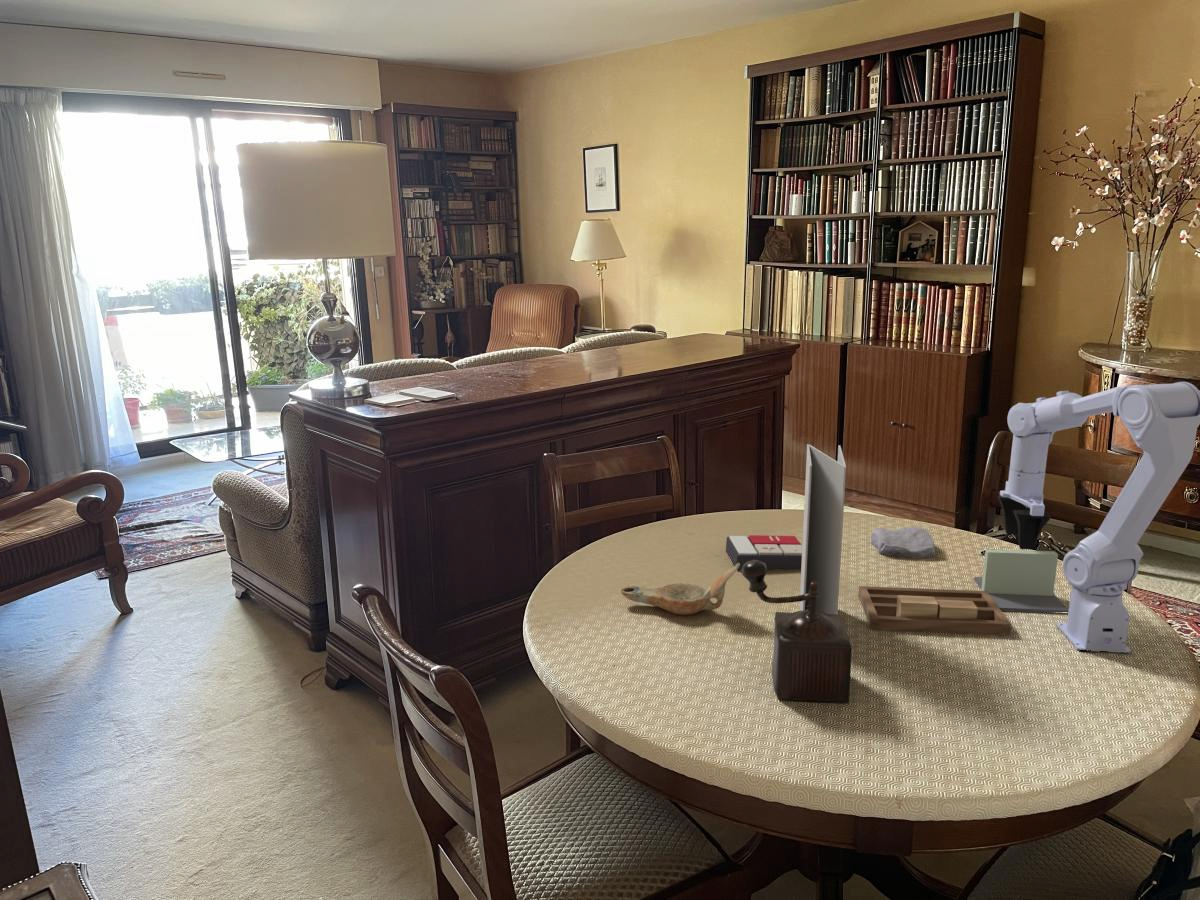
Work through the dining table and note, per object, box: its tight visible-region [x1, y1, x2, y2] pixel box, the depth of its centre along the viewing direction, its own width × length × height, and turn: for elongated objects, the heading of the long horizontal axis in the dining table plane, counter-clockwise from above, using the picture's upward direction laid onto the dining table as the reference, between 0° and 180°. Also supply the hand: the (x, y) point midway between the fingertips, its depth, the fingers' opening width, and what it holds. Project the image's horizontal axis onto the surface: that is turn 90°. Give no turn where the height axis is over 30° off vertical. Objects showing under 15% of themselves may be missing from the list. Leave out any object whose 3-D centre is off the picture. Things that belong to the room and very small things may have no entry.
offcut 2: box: [936, 600, 978, 620], centre depth 146 cm, size 3×6×4 cm, turn 82°
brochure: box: [799, 443, 847, 615], centre depth 144 cm, size 14×6×30 cm, turn 168°
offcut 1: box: [896, 595, 938, 618], centre depth 147 cm, size 3×6×4 cm, turn 82°
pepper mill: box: [740, 560, 853, 704], centre depth 126 cm, size 16×11×18 cm
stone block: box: [870, 526, 936, 559], centre depth 180 cm, size 12×5×10 cm
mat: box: [973, 576, 1069, 613], centre depth 157 cm, size 14×12×1 cm
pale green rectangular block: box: [980, 548, 1059, 596], centre depth 156 cm, size 2×12×8 cm, turn 82°
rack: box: [858, 585, 1012, 636], centre depth 150 cm, size 14×22×2 cm, turn 82°
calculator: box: [725, 534, 802, 571], centre depth 176 cm, size 11×4×15 cm
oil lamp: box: [620, 563, 740, 616], centre depth 153 cm, size 9×21×10 cm, turn 74°
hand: (1018, 541), depth 156 cm, fingers open, 7 cm apart
